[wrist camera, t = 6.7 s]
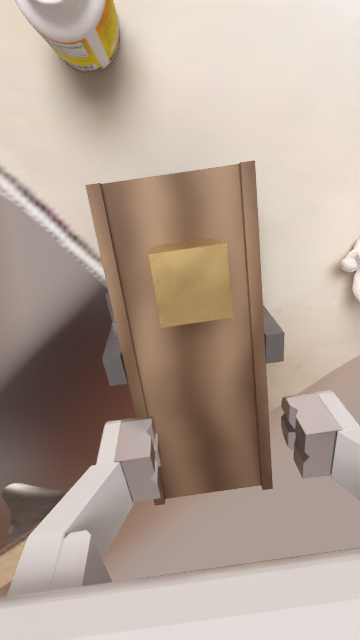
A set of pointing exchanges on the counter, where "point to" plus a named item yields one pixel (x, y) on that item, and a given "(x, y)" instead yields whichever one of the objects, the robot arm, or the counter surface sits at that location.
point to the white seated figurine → (353, 267)
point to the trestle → (116, 363)
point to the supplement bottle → (76, 30)
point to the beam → (191, 326)
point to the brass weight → (191, 281)
